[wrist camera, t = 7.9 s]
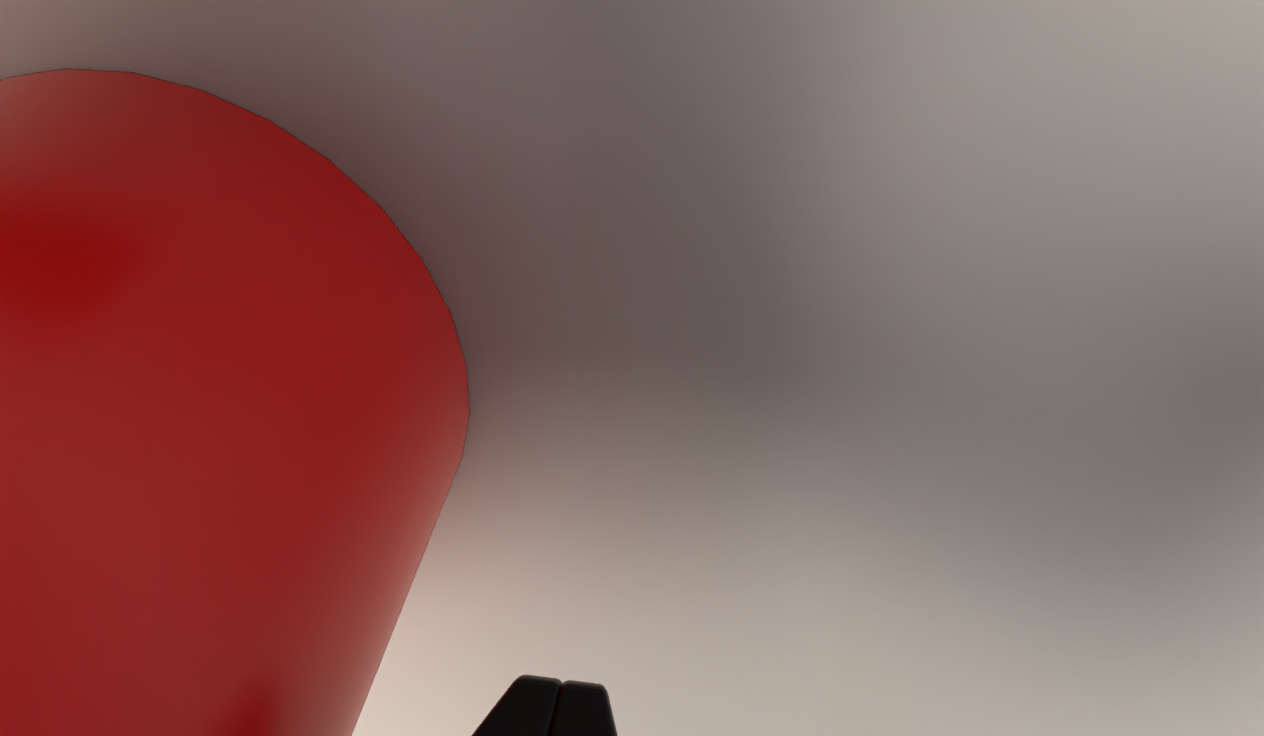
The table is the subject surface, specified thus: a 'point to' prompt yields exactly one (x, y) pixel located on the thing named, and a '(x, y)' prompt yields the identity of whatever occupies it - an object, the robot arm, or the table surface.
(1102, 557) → the table surface
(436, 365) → the mug
